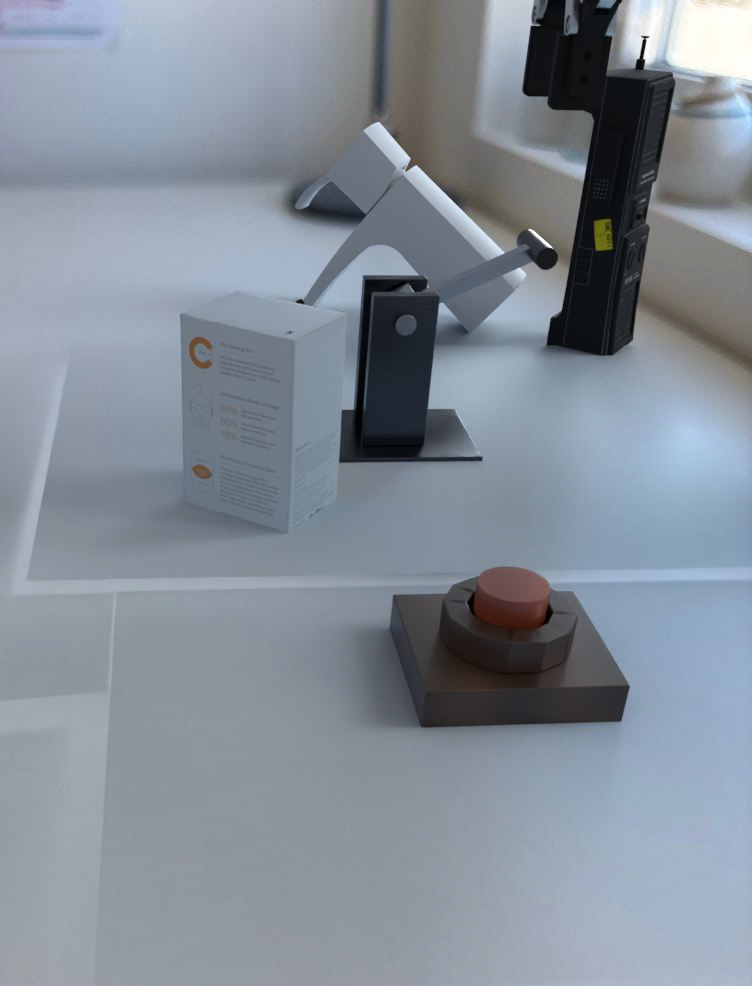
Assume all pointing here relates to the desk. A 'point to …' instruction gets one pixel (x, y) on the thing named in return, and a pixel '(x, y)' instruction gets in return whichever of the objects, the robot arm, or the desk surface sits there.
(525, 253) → the tap lever
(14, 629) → the desk surface
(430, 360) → the bracket
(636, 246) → the portable radio
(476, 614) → the button
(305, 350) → the small box
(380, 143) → the faucet
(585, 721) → the button block
